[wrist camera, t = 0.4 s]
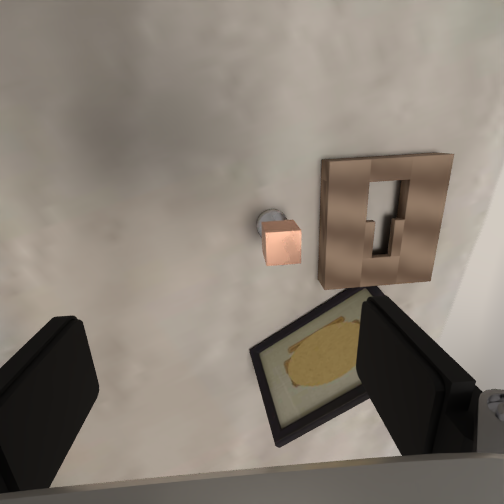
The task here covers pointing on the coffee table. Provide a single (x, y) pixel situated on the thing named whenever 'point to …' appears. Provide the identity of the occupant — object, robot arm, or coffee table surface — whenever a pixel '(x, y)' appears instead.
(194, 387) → the coffee table surface
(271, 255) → the peg
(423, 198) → the keyhole board
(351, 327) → the picture frame
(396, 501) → the robot arm
